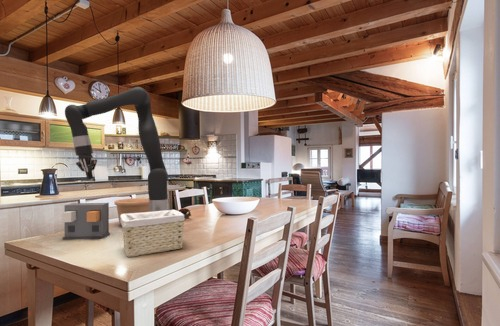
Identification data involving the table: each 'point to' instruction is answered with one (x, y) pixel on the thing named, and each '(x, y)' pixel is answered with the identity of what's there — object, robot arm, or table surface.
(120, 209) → the pottery
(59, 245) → the table surface
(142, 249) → the storage basket
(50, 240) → the table surface
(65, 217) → the cream paddle
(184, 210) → the pottery mug
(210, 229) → the table surface
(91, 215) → the orange paddle
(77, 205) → the switch box
